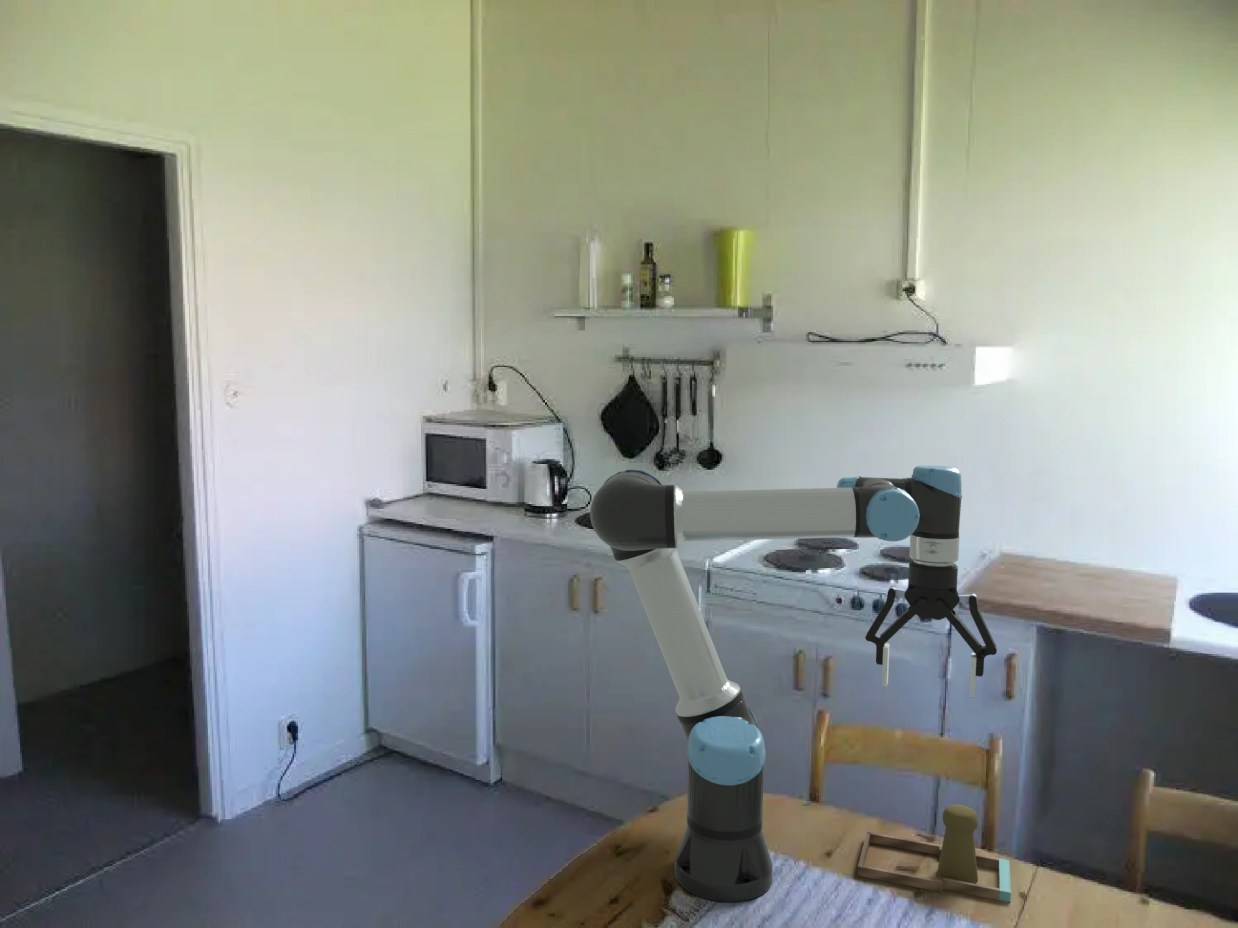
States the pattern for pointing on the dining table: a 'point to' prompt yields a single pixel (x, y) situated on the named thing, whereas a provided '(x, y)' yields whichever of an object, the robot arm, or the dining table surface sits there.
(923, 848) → the keyhole track
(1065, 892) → the dining table surface
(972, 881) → the cork
